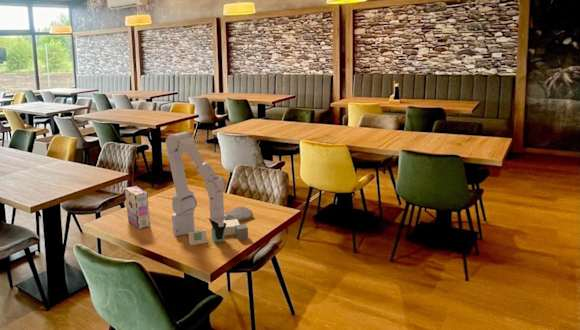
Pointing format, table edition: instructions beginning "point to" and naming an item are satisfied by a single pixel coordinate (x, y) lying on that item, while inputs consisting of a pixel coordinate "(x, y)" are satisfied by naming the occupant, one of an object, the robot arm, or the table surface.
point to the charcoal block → (241, 232)
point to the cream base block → (230, 226)
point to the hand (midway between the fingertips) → (218, 236)
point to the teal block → (215, 236)
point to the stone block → (239, 214)
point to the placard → (197, 237)
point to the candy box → (137, 207)
